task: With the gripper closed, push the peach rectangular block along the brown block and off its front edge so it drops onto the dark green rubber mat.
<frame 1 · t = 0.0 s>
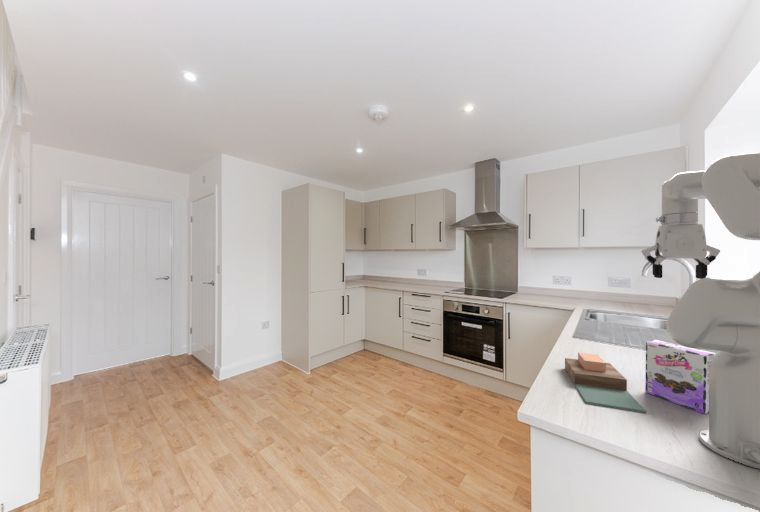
hand: (678, 278, 86), 37 cm above the worktop, tool pointing down, fingers open, 9 cm apart
peach rectangular block: (591, 365, 103), point 4 cm above the worktop, touching brown block
mat: (607, 398, 88), on the worktop
candy box: (678, 401, 86), on the worktop
brown block: (592, 379, 101), on the worktop
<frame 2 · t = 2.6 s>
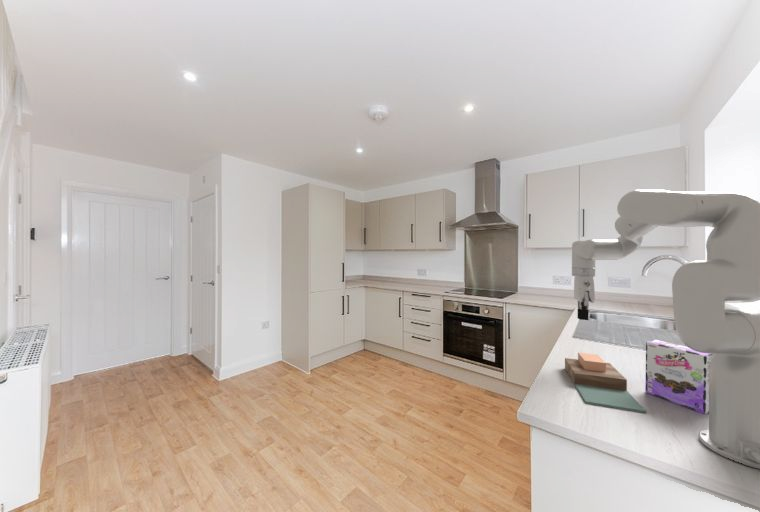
hand: (582, 319, 113), 18 cm above the worktop, tool pointing down, fingers closed
nothing on the worktop moved.
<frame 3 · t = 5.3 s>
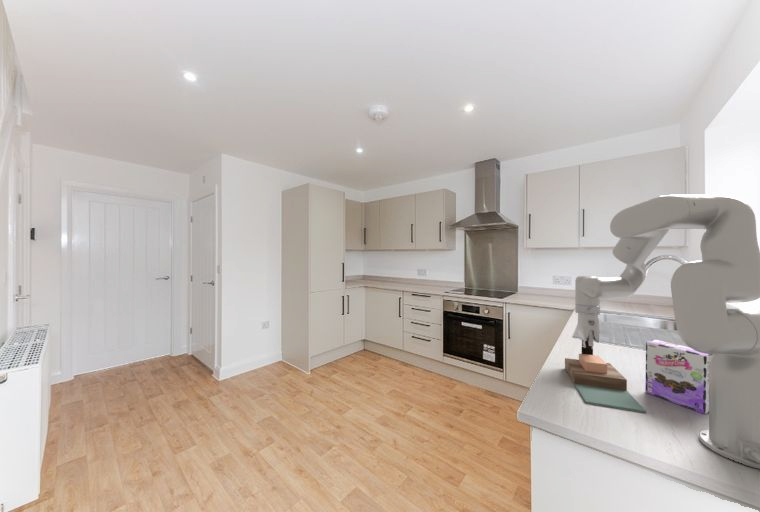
hand: (587, 358, 108), 5 cm above the worktop, tool pointing down, fingers closed
peach rectangular block: (592, 367, 102), point 4 cm above the worktop, touching gripper
everything else where it was.
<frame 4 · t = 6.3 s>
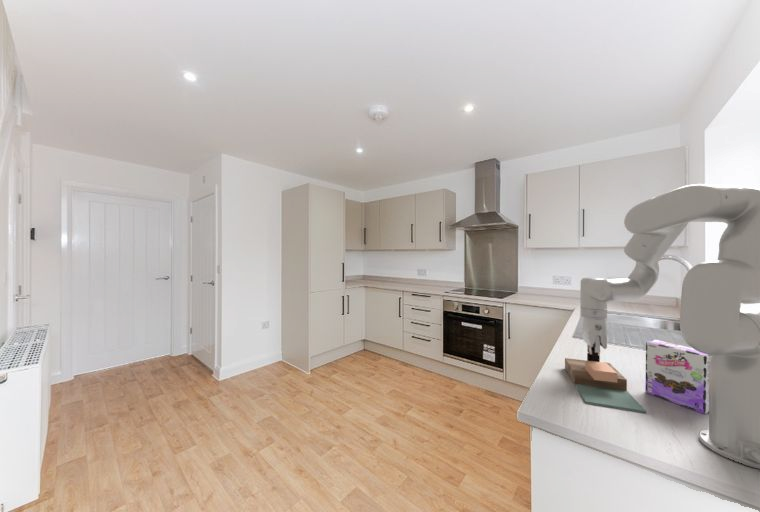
hand: (593, 365, 101), 5 cm above the worktop, tool pointing down, fingers closed
peach rectangular block: (600, 375, 95), point 4 cm above the worktop, touching brown block
everything else where it was.
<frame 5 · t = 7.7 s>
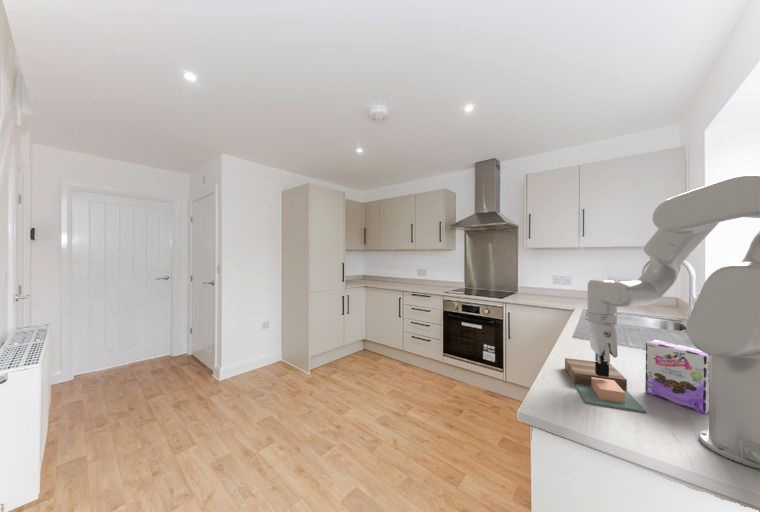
hand: (602, 375, 93), 5 cm above the worktop, tool pointing down, fingers closed
peach rectangular block: (607, 394, 89), point 1 cm above the worktop, touching mat
everything else where it was.
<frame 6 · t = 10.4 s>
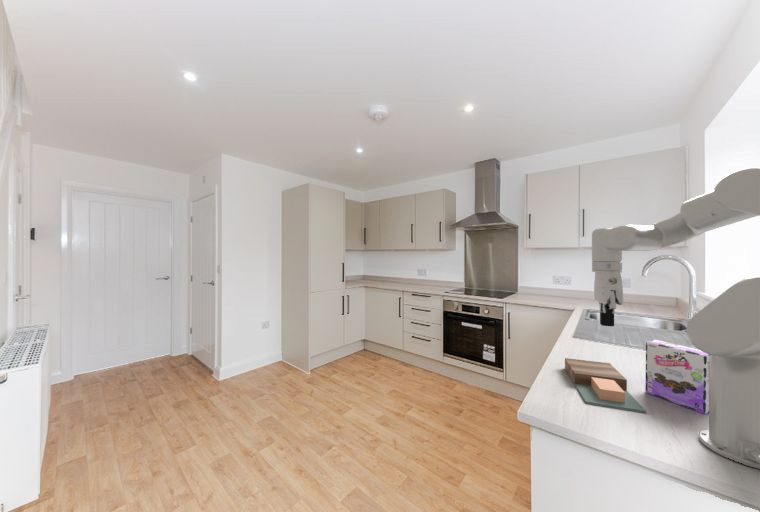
hand: (607, 325, 91), 21 cm above the worktop, tool pointing down, fingers closed
nothing on the worktop moved.
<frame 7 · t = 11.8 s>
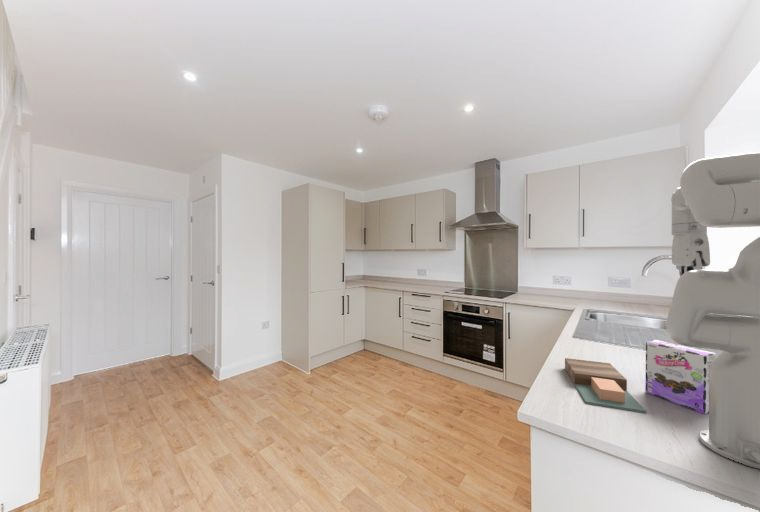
hand: (688, 288, 90), 33 cm above the worktop, tool pointing down, fingers closed
nothing on the worktop moved.
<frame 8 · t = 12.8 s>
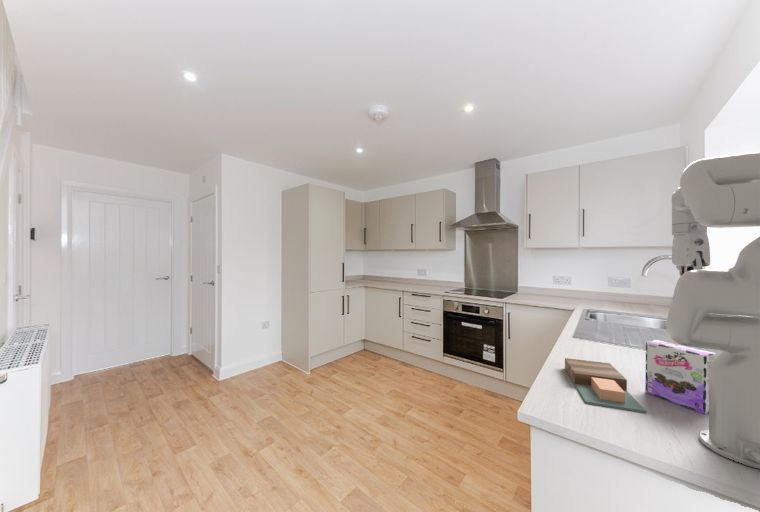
hand: (688, 288, 90), 33 cm above the worktop, tool pointing down, fingers closed
nothing on the worktop moved.
at the end: peach rectangular block inside the target area on the mat (1.6 cm from its centre), point 0.6 cm above the mat's base; peach rectangular block point 0.6 cm above the worktop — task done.
